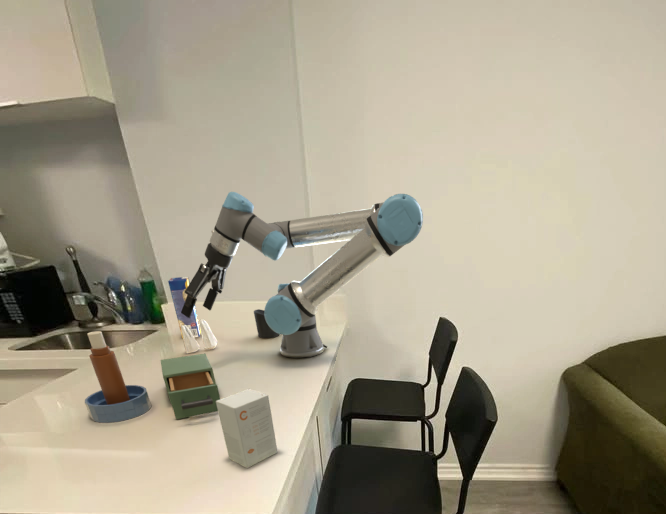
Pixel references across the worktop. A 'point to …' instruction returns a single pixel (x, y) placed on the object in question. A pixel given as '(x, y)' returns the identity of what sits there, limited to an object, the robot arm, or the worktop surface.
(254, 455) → the small box
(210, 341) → the shaker set
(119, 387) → the bottle
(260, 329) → the pen holder
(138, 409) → the bowl
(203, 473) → the worktop surface
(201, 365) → the cabinet
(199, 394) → the drawer
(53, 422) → the worktop surface
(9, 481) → the worktop surface
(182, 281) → the beverage box
